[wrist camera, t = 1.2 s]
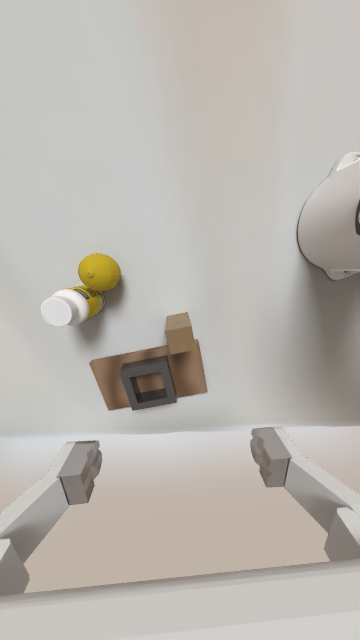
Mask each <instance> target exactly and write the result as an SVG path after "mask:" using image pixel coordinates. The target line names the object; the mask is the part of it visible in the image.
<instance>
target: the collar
mask: <svg viewBox="0 0 360 640" xmlns="http://www.w3.org/2000/svg"><path fill="white" fill-rule="evenodd" d="M156 372H161V374H162V378H163V382H164V385H165V388H162V389H157V390H152V391H147V392H140V389H139V386H138V383H137V380H136V377H135V376H140V375H146V374H151V373H156ZM119 374H120V377H121V380H122V382H123V385H124V388H125V391H126V394H127V397H128V399H129V402H130V405H131V408H132V411H133V410H139V409H144V408H149V407H155V406H160V405H165V404H171V403H176V402H177V391H176V387H175V383H174V379H173V375H172V371H171V367H170V363H169V359H168V355H165V356H160V357H155V358H150V359H144V360H139V361H134V362H129V363H124V364H123V365H122V367H121V369H120V371H119Z"/></svg>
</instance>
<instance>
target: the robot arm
mask: <svg viewBox="0 0 360 640" xmlns="http://www.w3.org/2000/svg"><path fill="white" fill-rule="evenodd" d="M298 240H299V245H300V248H301V250H302V252H303V254H304V255H305V257H306V258H307V259H308V260H309V261H310V262H311V263H313V264H315V265H317V266H319V267H321V268H322V269H324V271H325V272H326V274H327V275H328V276H329V278H331V279H332V280H340V279H343V278H346V277H348V276H351V275H353V274H356V273H358V272H360V152H350V153H347V154H345V155H343V156H342V157H340V158H339V159H338V161H337V162H336V164H335V165H334V167H333V169H332V171H331V173H330V174H329V176H328V177H327V179H326V180H325V181H324V182H323V183H322V184H321V185H320V186H319V187H318V188H317V189H316V190H315V191H314V192H313V193H312V194H311V196H310V197H309V199H308V200H307V202H306V204H305V206H304V208H303V210H302V213H301V216H300V219H299V224H298ZM251 434H252V436H253V439H252V440H251V452H252V455H253V458H254V460H255V462H256V463H257V464H258V465H259V466H260V474H261V476H262V478H263V481H264V483H265V485H266V487H283V486H284V488H285V489H286V490H287V491H288V492H289V493H290V494H291V495H292V496H293V497H294V498H295V499H296V500H297V501H298V502H299V503H300V505H301V506H303V507H304V509H305V510H306V511H307V512H308V513H309V514H310V515H311V516H312V517H313V518H314V519H315V520H316V521H317V522H318V523H319V524H320V525H321V526H322V527H323V528H324V529H325V530H326V531H327V532H328V537H327V540H326V543H325V547H324V550H325V552H326V554H327V556H328V557H329V559H330V562H320V563H311V564H301V565H291V566H282V567H272V568H262V569H253V570H243V571H234V572H225V573H215V574H205V575H195V576H186V577H176V578H167V579H157V580H148V581H138V582H128V583H119V584H109V585H100V586H91V587H81V588H71V589H62V590H52V591H42V592H33V593H24V591H25V589H26V586H27V584H28V582H29V574H28V572H27V570H26V568H25V566H24V565H23V563H24V562H25V561H26V560H27V558H28V557H29V556H30V555H31V554H32V552H33V551H34V550H35V549H36V547H37V546H38V545H39V544H40V542H41V541H42V540H43V539H44V537H45V536H46V535H47V533H48V532H49V531H50V530H51V528H52V527H53V526H54V525H55V524H56V522H57V521H58V520H59V519H60V517H61V516H62V515H63V514H64V512H65V511H66V510H67V508H68V507H69V505H74V504H83V503H88V502H89V499H90V496H91V494H92V491H93V488H94V481H93V480H94V479H95V478H96V476H97V475H98V474H99V471H100V468H101V463H102V454H101V452H100V450H98V448H99V446H100V445H99V441H78V442H67V443H66V444H65V445H64V446H63V448H62V449H61V451H60V453H59V454H58V456H57V458H56V459H55V461H54V463H53V464H52V466H51V468H50V469H49V471H48V473H47V474H46V476H45V478H44V479H40V480H39V481H38V482H36V483H35V484H34V485H33V486H32V487H31V488H30V489H28V490H27V491H26V492H25V493H24V494H23V495H21V496H20V497H19V498H18V499H17V500H16V501H14V502H13V503H12V504H11V505H10V506H8V507H7V508H6V509H5V510H4V511H3V512H2V513H0V640H360V495H359V494H358V493H357V492H355V491H354V490H352V489H351V488H349V487H348V486H346V485H345V484H344V483H342V482H341V481H340V480H338V479H337V478H335V477H334V476H332V475H331V474H330V473H328V472H327V471H325V470H324V469H323V468H321V467H320V466H318V465H317V464H315V463H314V462H313V461H311V460H310V459H308V458H304V457H303V456H302V454H301V453H300V452H299V450H298V449H297V447H296V446H295V445H294V443H293V442H292V440H291V439H290V437H289V436H288V435H287V433H286V432H285V430H284V429H283V428H282V427H266V428H255V429H252V433H251Z"/></svg>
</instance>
